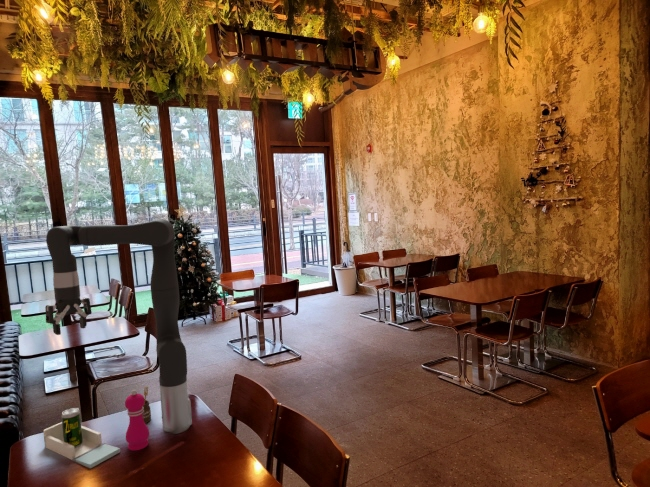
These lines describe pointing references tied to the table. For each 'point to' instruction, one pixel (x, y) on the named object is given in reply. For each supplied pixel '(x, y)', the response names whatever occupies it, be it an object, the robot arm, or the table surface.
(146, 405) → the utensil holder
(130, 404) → the pepper mill
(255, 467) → the table surface
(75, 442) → the beer can
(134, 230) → the robot arm
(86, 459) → the panel
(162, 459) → the table surface
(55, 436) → the tray
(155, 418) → the table surface
